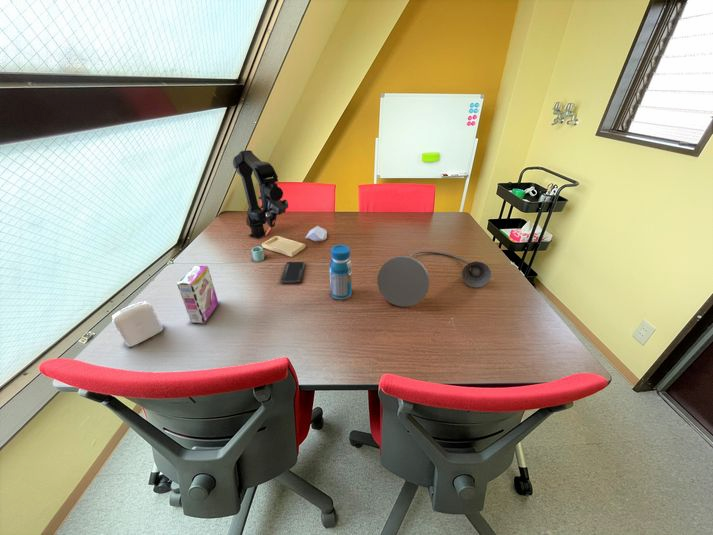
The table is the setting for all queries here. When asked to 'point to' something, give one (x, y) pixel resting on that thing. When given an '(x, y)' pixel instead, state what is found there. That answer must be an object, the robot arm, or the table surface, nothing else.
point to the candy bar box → (198, 294)
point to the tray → (283, 245)
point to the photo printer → (137, 323)
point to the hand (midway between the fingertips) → (272, 227)
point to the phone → (293, 272)
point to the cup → (258, 253)
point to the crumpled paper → (317, 234)
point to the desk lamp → (420, 278)
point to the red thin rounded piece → (269, 228)
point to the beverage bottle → (340, 272)
